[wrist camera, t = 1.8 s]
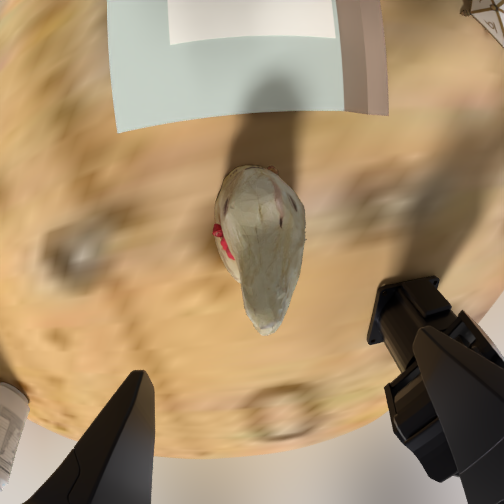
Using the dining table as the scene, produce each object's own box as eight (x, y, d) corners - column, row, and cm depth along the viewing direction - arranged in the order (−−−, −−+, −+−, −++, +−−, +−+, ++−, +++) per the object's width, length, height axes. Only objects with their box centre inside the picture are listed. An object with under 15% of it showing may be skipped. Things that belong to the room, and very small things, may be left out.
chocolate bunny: (316, 179, 18) (403, 260, 9) (263, 280, 21) (293, 400, 12) (233, 143, 16) (253, 195, 7) (188, 256, 19) (172, 380, 11)
